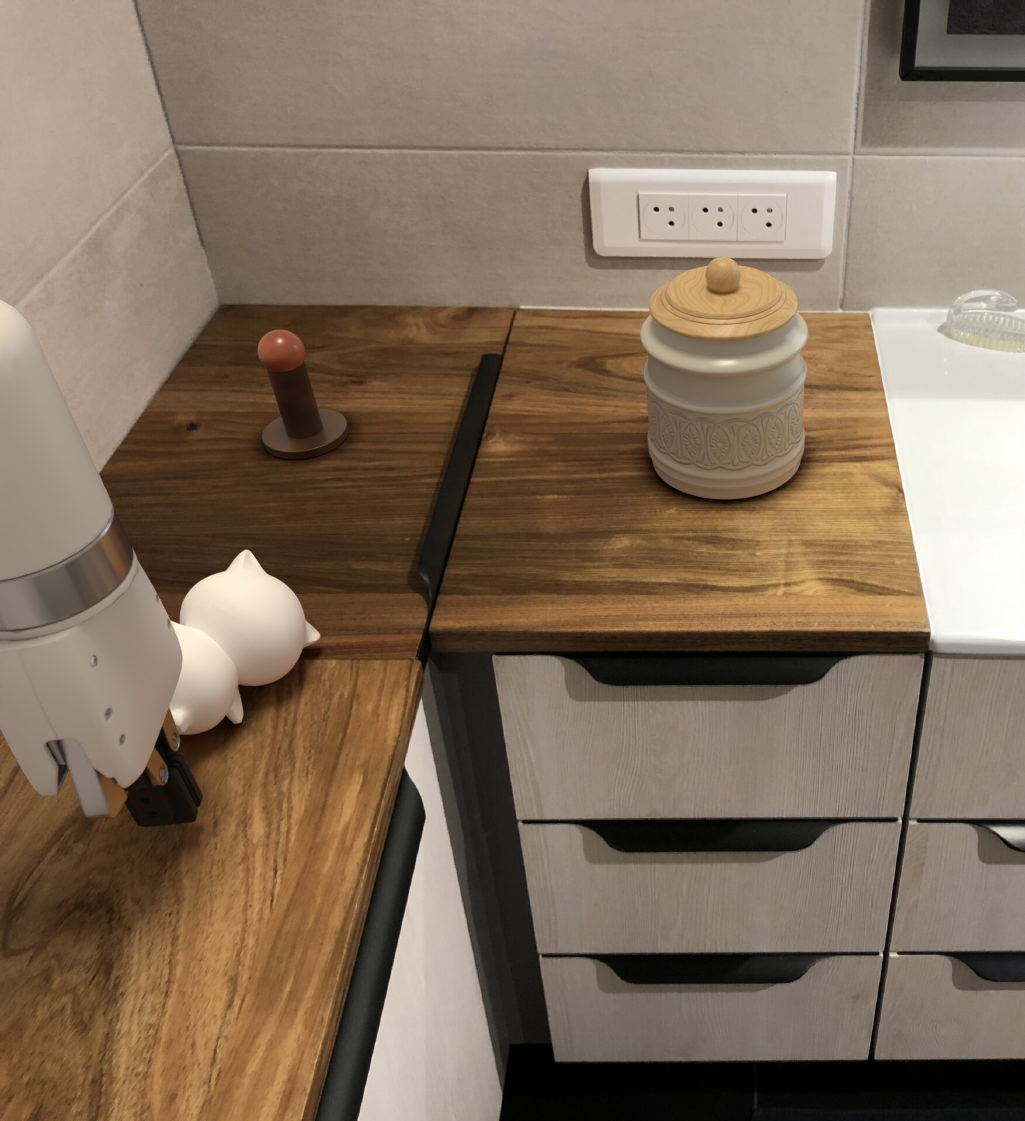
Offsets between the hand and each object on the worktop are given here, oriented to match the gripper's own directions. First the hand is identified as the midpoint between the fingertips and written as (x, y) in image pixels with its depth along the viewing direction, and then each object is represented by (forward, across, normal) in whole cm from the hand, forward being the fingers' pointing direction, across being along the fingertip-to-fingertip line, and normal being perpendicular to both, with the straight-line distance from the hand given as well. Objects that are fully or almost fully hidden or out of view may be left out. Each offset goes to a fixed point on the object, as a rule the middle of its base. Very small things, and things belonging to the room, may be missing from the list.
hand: (171, 812), depth 63 cm
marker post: (+2, -42, 0) cm, 42 cm away
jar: (+2, -34, +35) cm, 49 cm away
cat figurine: (+2, -12, 0) cm, 12 cm away
